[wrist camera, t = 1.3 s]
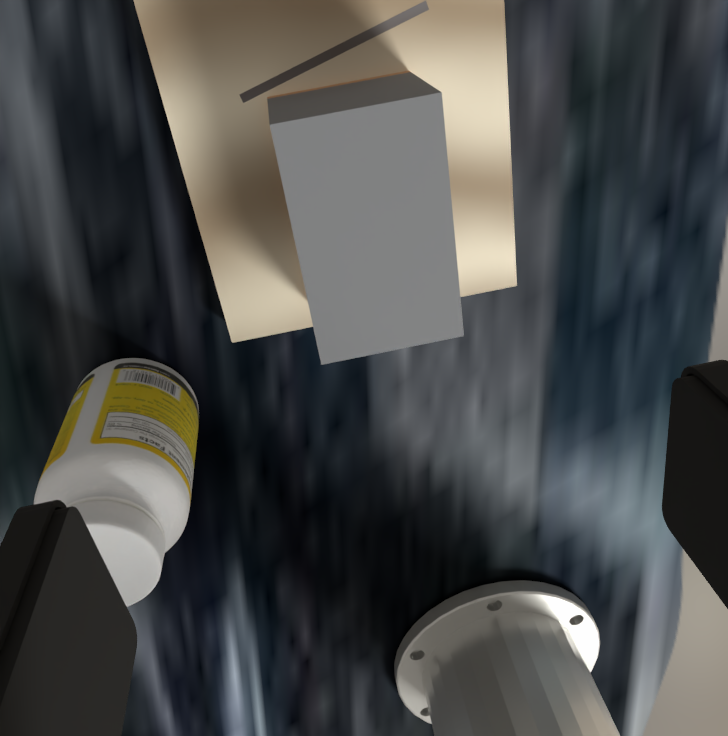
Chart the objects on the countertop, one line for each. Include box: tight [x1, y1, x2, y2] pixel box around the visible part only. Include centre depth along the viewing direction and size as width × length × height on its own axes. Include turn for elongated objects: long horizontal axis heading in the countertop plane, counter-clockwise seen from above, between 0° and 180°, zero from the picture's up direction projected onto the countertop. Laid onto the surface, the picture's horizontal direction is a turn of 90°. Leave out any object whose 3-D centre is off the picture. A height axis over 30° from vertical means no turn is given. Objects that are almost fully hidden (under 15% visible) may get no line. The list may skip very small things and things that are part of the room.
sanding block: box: [267, 71, 464, 365], centre depth 24 cm, size 8×5×5 cm, turn 8°
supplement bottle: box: [34, 358, 199, 607], centre depth 27 cm, size 5×5×10 cm
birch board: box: [133, 0, 517, 343], centre depth 24 cm, size 22×12×2 cm, turn 8°
